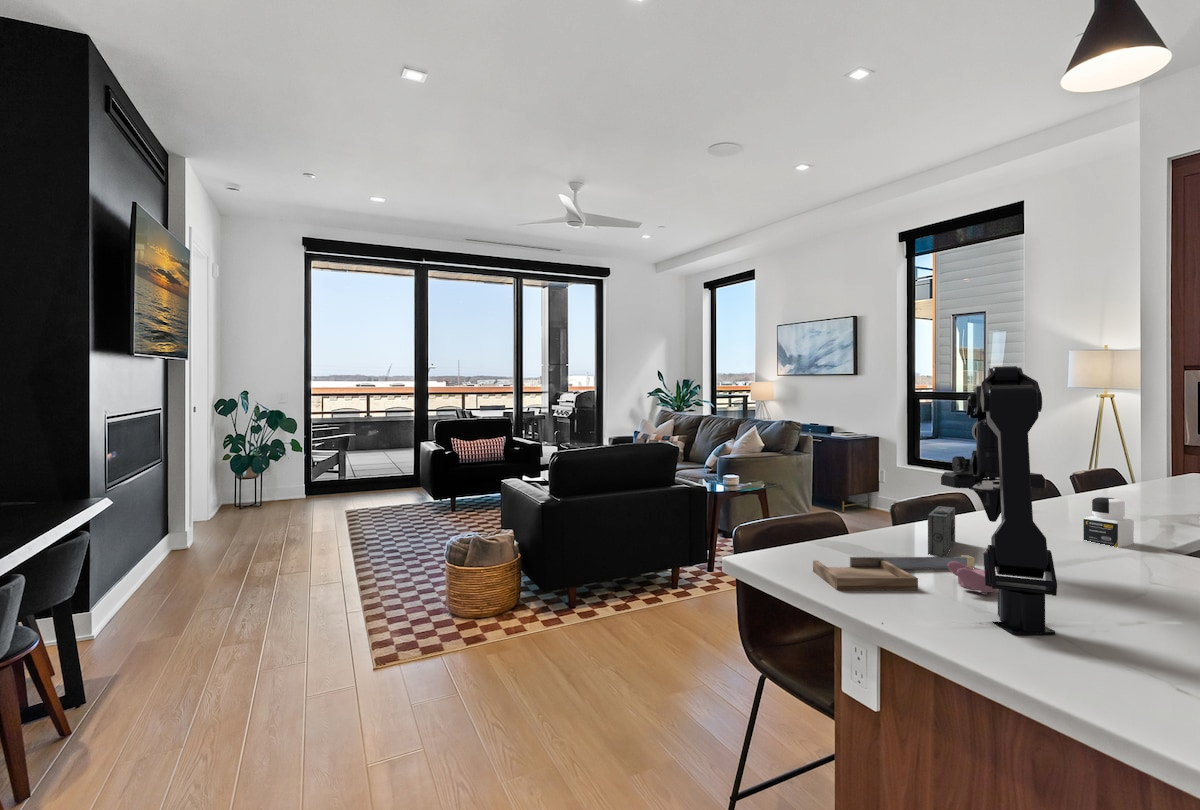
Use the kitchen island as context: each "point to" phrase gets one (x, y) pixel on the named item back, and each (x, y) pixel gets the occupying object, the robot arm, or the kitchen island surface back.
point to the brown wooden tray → (867, 577)
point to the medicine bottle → (1109, 523)
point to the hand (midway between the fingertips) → (992, 521)
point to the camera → (941, 530)
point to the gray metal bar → (912, 562)
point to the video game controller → (969, 577)
